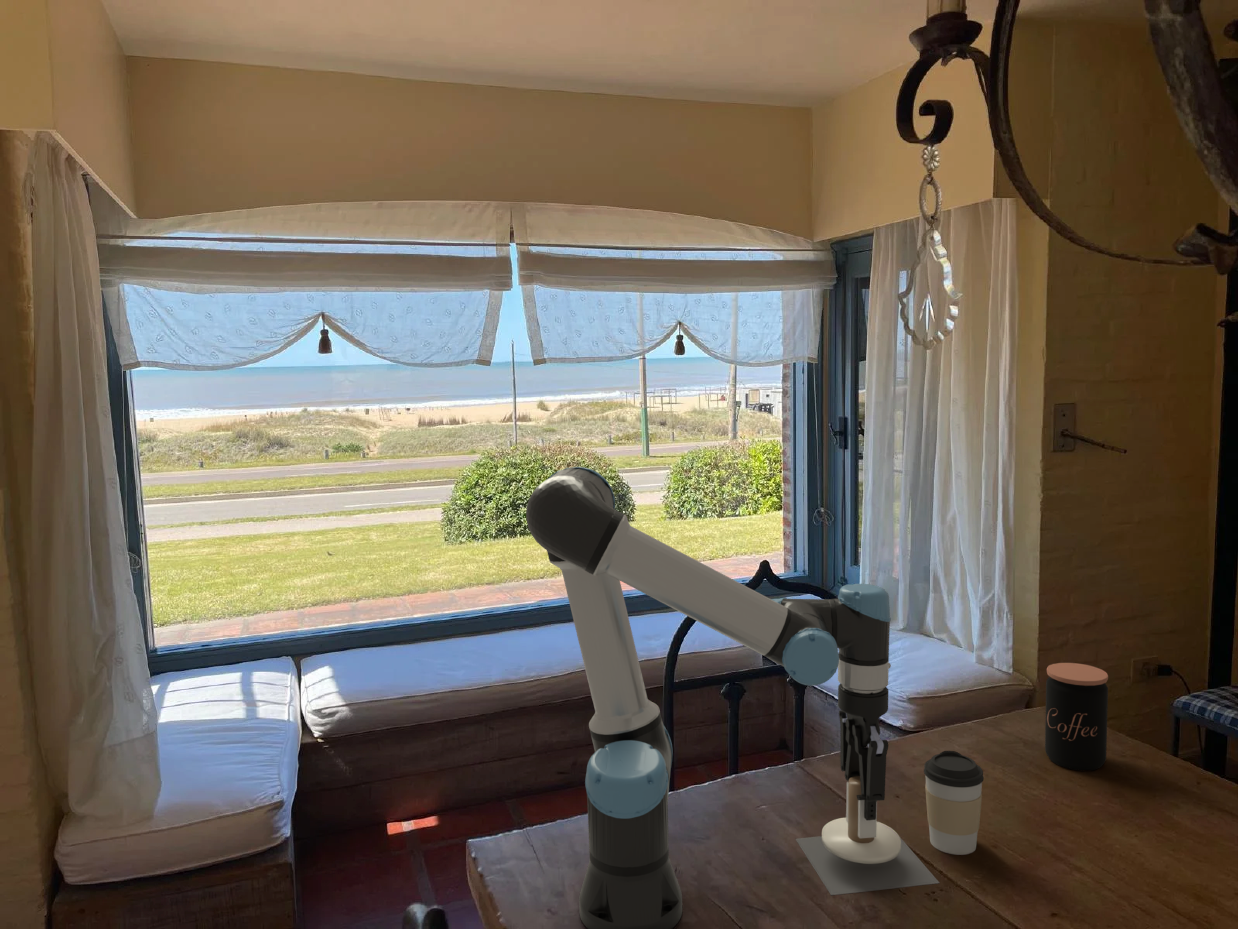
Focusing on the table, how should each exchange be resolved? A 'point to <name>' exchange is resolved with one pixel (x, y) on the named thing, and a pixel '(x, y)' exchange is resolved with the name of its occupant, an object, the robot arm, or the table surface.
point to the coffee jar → (1076, 716)
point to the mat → (864, 870)
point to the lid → (845, 835)
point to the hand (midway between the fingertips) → (860, 828)
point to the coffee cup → (953, 801)
